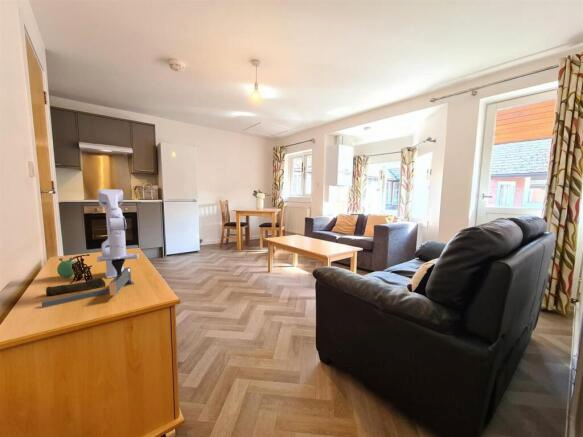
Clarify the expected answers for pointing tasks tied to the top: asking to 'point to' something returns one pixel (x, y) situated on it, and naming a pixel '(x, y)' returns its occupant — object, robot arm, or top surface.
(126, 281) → the swing gate
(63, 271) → the alien toy
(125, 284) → the gate base
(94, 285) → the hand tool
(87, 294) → the bar
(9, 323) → the top surface
